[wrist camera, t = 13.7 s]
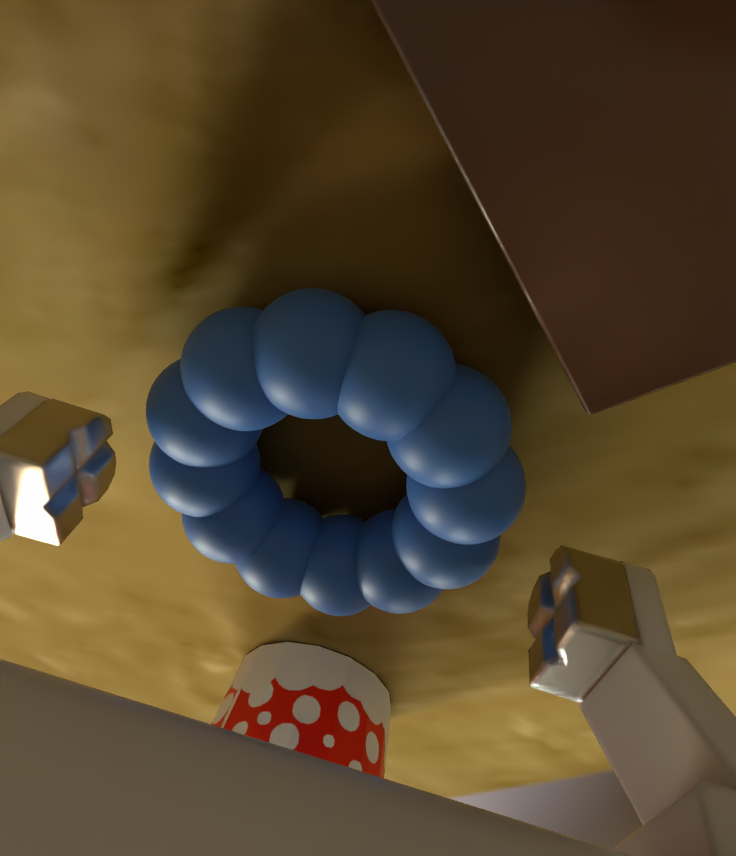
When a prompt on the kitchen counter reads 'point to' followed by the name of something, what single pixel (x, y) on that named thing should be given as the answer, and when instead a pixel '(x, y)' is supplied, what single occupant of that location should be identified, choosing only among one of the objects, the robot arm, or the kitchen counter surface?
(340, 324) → the blue bumpy ring
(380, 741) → the beverage cup
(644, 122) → the peg stand
